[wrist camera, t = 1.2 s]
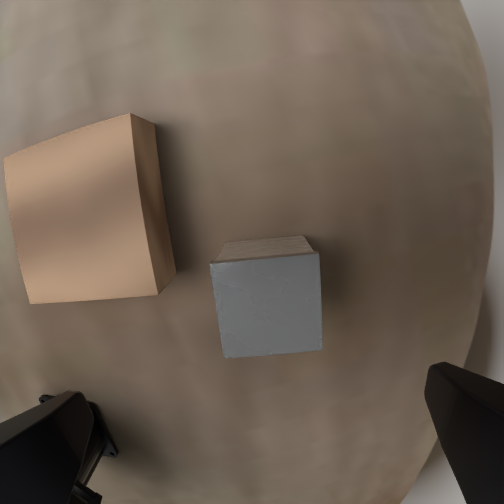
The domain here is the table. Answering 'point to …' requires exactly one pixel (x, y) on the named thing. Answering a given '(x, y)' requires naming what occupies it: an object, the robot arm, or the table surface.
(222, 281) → the grey cube
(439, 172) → the table surface
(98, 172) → the tan block
